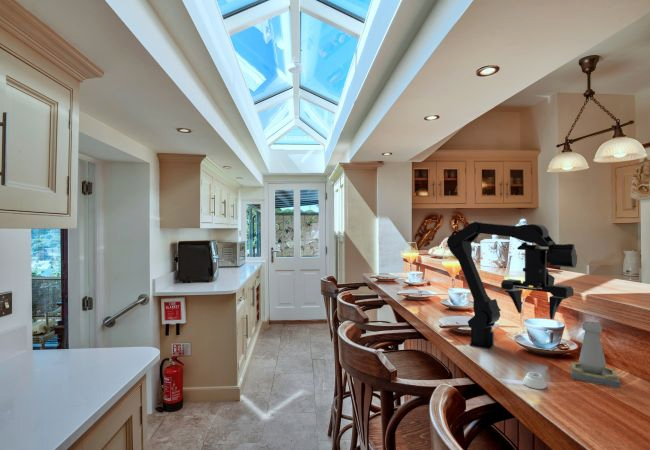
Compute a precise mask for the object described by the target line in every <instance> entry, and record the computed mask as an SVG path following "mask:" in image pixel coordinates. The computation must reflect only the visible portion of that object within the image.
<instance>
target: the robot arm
mask: <svg viewBox="0 0 650 450" xmlns="http://www.w3.org/2000/svg"><path fill="white" fill-rule="evenodd" d="M481 234H483V235H484V234H485V235H492V236H502V237H509V238H510V237H511V238H513V239H516V240H519V241H522V243H521V244H520V245H519V246H518V247H517V250H519V251H523V250H524V267H523V268H522V272H524V280H523V281H521V280H520V279H512V278H508V279H503V280H502V281H501V284H500V289H501V290H504V292H505V293H507V294H508V295H509V298H510V299H511V300H512V303H513V305H514V306H515V308H516V311H517V313H518V314H521V313H522V294H523V290H528V291H534V292H535V291H536V292H542V293H550V295H552V296H549V319H550V320H553V319H554V318H555V316H556V313H557V311H558V308H559V307H560V304H561V302H562V301H563V300H566V299H568V298H569V297H570V298H571V297H573V296H574V292H575V291H574V288H573V287H572V285H565V284H564V285H563V284H555V278H556V277H554V276H553V275H552V274H550V273H549V268H548V267H547V263H548V264H550V265H551V267H558V268H559V267H560V268H562V267H563V268H574V269H576V267H577V264H578V255H577V251H576V248H575V247H576V246H575V243H566V244H563V243H562V244H559V243H558V244H557V243H556V242H555V241H554V239H552V237H551V236H550V234H549V230H548V229H547V227H546V226H545V225H543V224H536V223H535V224H533V223H531V224H518V225H511V224H510V225H509V224H498V223H488V222H482V221H471V222H470V223H469V224H468V225H466V226H465V227H464V228H462V229H460V230H459V231H457V232H456V233H454V234H450V235H449V236H448V238H447V240H446V246H447V247H448V250H449V251H450V253H451V255H453V257H455V259H457V261H458V263H459V266H460V268H461V270H462V271H461V272H462V274H463V276H464V279H465V281H466V283H467V286H468V288H469V291H470V294H471V296H472V298H473V305H472V306H473V314H474V315H473V316H472V317H471V318H470V319H469V320H467V324H468V327H469V328H470V342H469V346H472V347H477V348H483V349H489V350H491V348H492V347H493V346H494V345H495V332H494V331H493V327H494V326H495V324H496V322H498V321H499V320H500V318H501V311H502V309H501V308H500V307H499V305H498V304H499V303H498V301H497V299H496V298H495V299H494V298H493V299H491V297H489V296H488V294H487V293H488V292H487V291H486V289H485V286H484V284H483V280H482V279H481V277H480V274H479V271H478V268H477V266H476V263H475V261H474V258H473V254H472V253H473V248H472V247H473V246H472V242H474V241H475V240H476V239H477V238H478V237H479V235H481ZM528 243H529V244H528ZM540 247H542V248H540ZM543 247H544V248H543Z"/></svg>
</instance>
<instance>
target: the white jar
mask: <svg viewBox="0 0 650 450" xmlns="http://www.w3.org/2000/svg"><path fill="white" fill-rule="evenodd" d="M522 383H523V385H525V386H527V387H529V388H531V389H535V390H536V389H537V390H543V389H546V388H547V384H546V382H545V380H544V378H543V377H542V374H541V373H539V372H534V371H529V372H527V374H526V375H525V376H524V378H523V380H522Z"/></svg>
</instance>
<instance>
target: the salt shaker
mask: <svg viewBox="0 0 650 450" xmlns="http://www.w3.org/2000/svg"><path fill="white" fill-rule="evenodd" d="M581 327H582V330H583V331H584V335H583V340H582V344H581V350H580V354H579V359H578V362H580V364H581V366H582V369H583V370H585V371H586V372H589V373H594V374H602V372H603V370H604V369H605V367H607V366H606V365H607V363H606V362H607V361H606V358H605V354H604V349H603V345H602V339H601V335H600V334H601V333H602V332H603V325H602V324H600V323H598V322H595V321H584V322H583V323H582V326H581Z"/></svg>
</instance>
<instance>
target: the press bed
mask: <svg viewBox="0 0 650 450" xmlns="http://www.w3.org/2000/svg"><path fill="white" fill-rule="evenodd" d="M570 377H571V378H570V379H571V380H577V381H581V382H585V383H591V384H596V385H597V384H598V385H601V386H607V387H613V388H617V389H620V388H621V381H620V379H619V376H618V374H617V371H616V369H613V368H610V367H607V366H605V369H604V370H603V372H602V374H594V373H589V372H586V371H585V370H583V369H582V366H581V364H580V362H579V361H578V362H575V361H570Z"/></svg>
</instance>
